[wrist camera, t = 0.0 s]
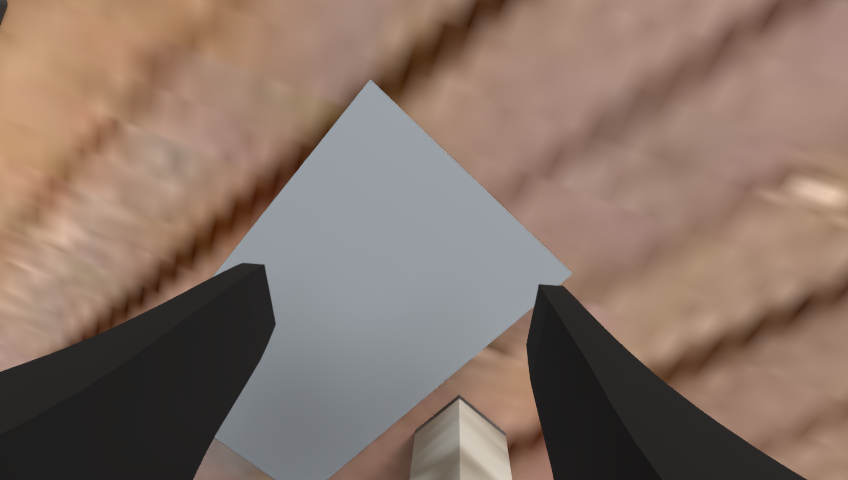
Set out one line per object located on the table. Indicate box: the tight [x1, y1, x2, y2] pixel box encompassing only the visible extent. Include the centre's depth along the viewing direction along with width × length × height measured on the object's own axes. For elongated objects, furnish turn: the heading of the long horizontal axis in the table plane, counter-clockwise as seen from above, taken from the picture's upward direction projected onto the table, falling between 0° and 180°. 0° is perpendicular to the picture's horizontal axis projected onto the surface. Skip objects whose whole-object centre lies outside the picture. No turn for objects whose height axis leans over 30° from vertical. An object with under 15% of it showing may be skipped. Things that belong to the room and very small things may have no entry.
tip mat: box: [213, 80, 572, 480], centre depth 23 cm, size 24×14×1 cm, turn 138°
